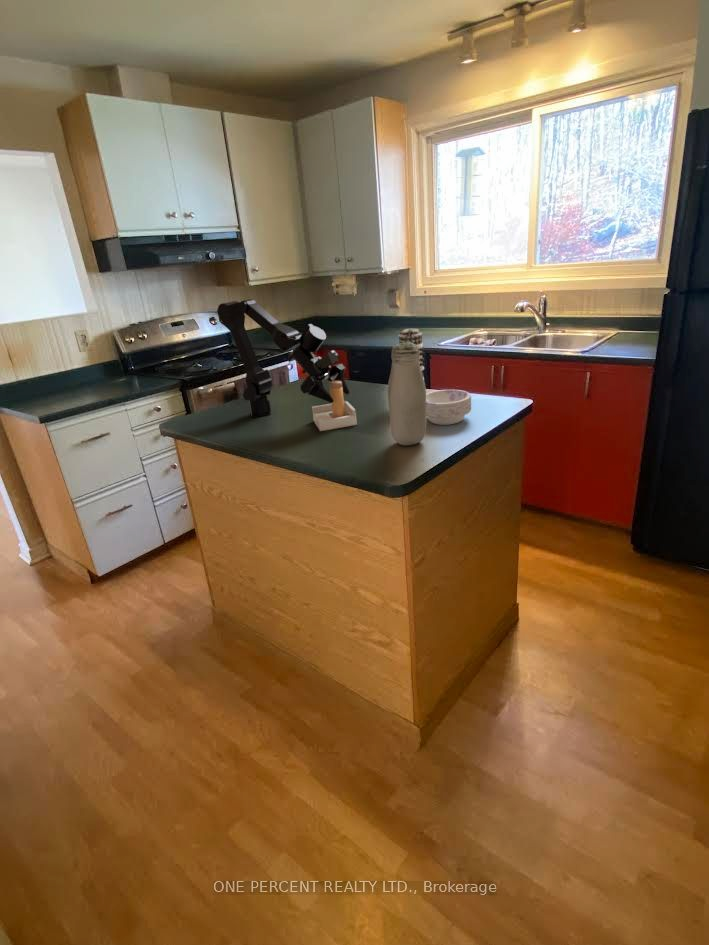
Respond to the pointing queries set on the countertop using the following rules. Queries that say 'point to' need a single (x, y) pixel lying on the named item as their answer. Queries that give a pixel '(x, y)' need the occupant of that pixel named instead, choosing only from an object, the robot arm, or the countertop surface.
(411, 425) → the light grey bottle
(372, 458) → the countertop surface
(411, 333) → the decorative candle
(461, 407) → the paper bowls
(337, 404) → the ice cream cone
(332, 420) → the housing
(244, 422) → the countertop surface
